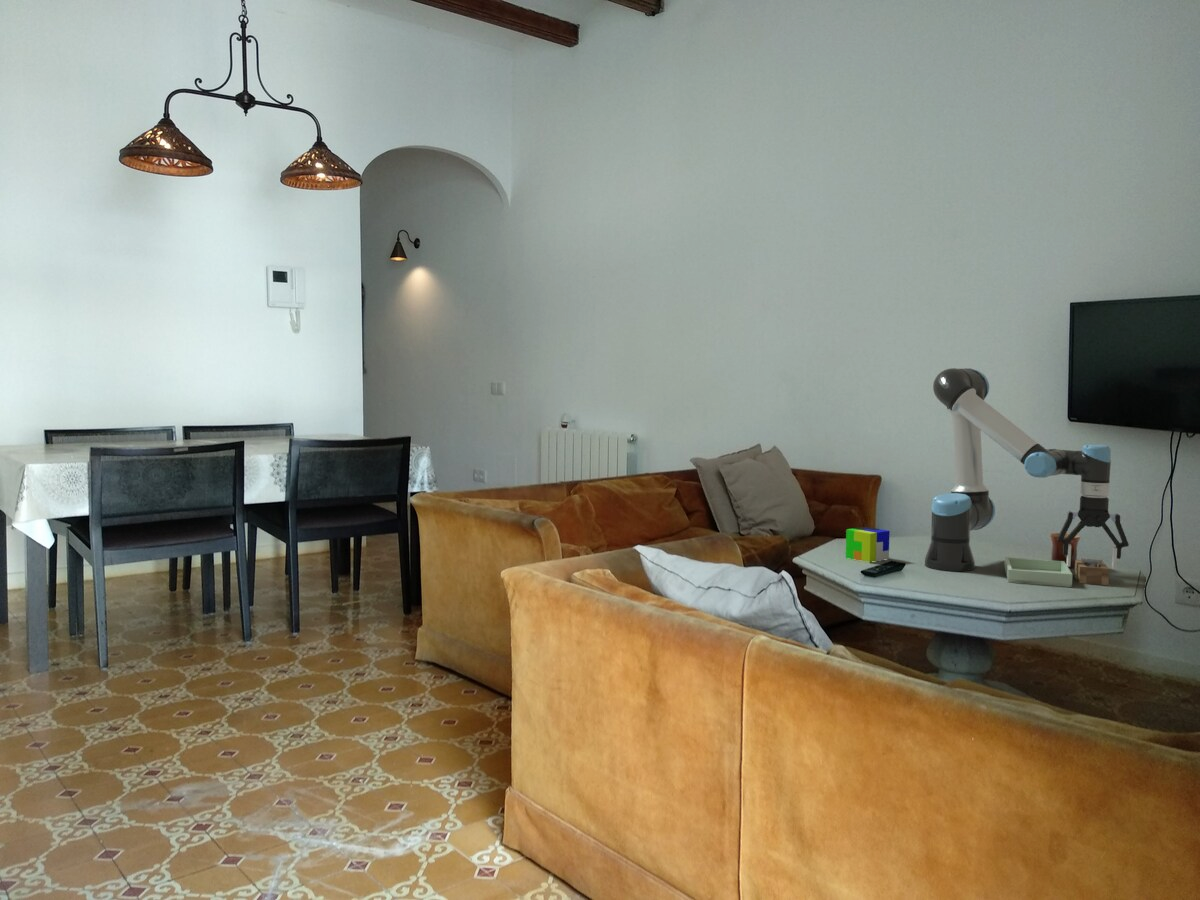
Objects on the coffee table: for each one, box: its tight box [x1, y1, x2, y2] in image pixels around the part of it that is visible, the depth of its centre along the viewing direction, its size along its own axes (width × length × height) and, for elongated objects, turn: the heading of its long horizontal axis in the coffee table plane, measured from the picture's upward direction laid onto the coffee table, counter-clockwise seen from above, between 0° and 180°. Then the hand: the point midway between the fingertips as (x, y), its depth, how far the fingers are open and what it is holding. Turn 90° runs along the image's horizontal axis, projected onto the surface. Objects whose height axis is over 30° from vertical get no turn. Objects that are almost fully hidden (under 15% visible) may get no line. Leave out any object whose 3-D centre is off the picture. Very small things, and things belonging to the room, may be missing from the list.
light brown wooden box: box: [1074, 559, 1110, 586], centre depth 263 cm, size 11×8×5 cm
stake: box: [1081, 557, 1103, 567], centre depth 263 cm, size 5×2×7 cm, turn 68°
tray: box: [1004, 556, 1073, 588], centre depth 267 cm, size 17×20×4 cm
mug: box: [1049, 532, 1081, 569], centre depth 281 cm, size 12×9×10 cm
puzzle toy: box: [845, 526, 891, 562], centre depth 295 cm, size 10×10×10 cm
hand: (1090, 567), depth 263 cm, fingers open, 11 cm apart
